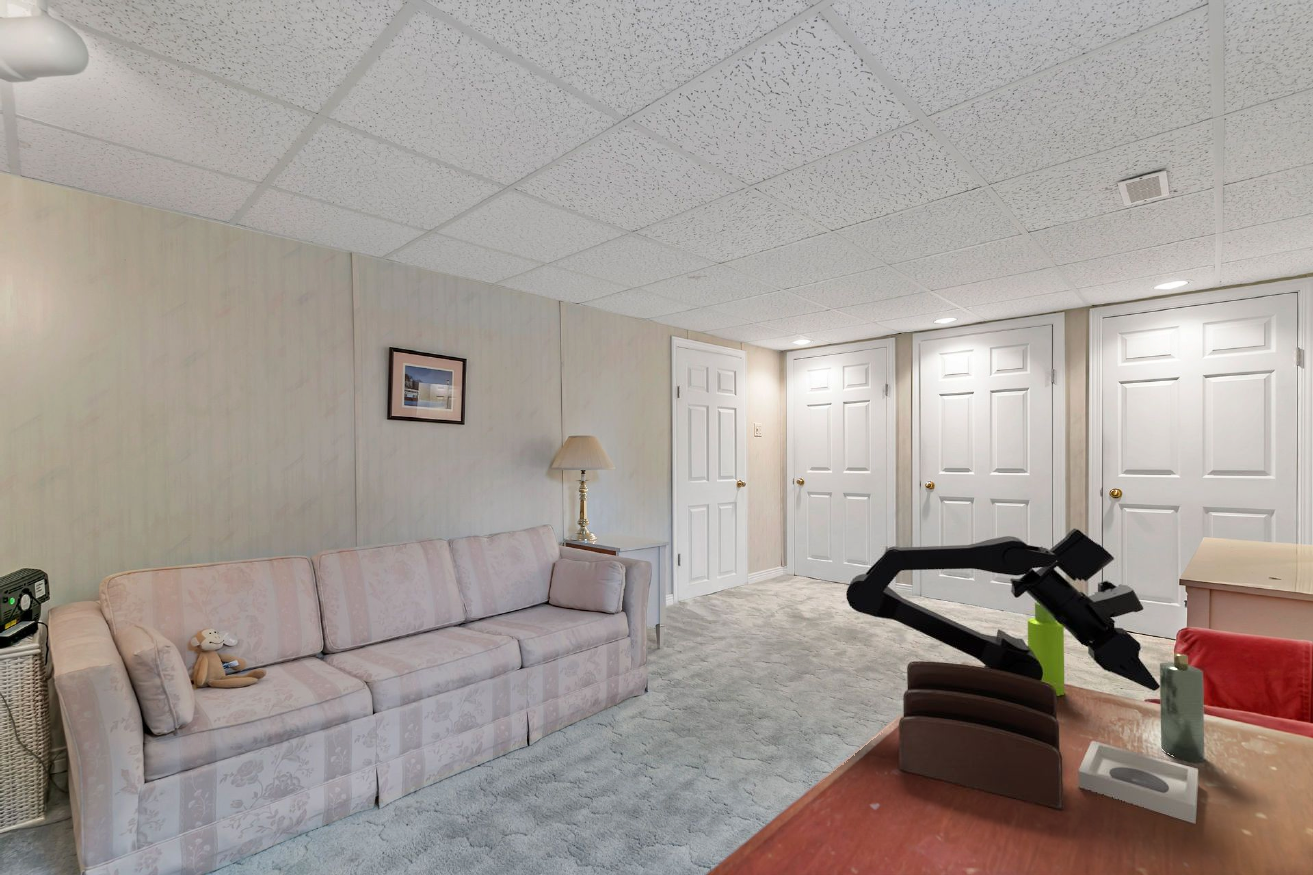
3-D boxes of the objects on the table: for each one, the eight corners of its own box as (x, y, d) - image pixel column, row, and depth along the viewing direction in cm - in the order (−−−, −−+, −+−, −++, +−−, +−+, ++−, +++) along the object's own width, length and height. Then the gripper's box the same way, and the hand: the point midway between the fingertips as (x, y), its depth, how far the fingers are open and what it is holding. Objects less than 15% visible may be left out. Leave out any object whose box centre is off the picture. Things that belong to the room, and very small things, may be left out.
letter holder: (908, 743, 96) (907, 653, 96) (1057, 777, 86) (1056, 676, 86) (898, 771, 87) (897, 673, 88) (1063, 813, 77) (1062, 701, 78)
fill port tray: (1078, 786, 83) (1078, 770, 83) (1092, 755, 92) (1091, 740, 92) (1195, 823, 75) (1195, 805, 75) (1198, 784, 84) (1197, 768, 84)
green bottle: (1160, 754, 92) (1158, 655, 92) (1162, 742, 96) (1160, 647, 96) (1204, 765, 89) (1202, 663, 89) (1204, 753, 92) (1203, 654, 93)
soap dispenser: (1076, 697, 113) (1075, 590, 114) (1035, 694, 115) (1034, 588, 115) (1062, 685, 119) (1060, 583, 120) (1023, 683, 120) (1022, 582, 121)
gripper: (1121, 578, 88) (1220, 665, 84) (1087, 558, 105) (1168, 629, 101) (1058, 627, 91) (1150, 713, 86) (1035, 599, 108) (1111, 670, 104)
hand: (1146, 677), depth 94 cm, fingers open, 9 cm apart
